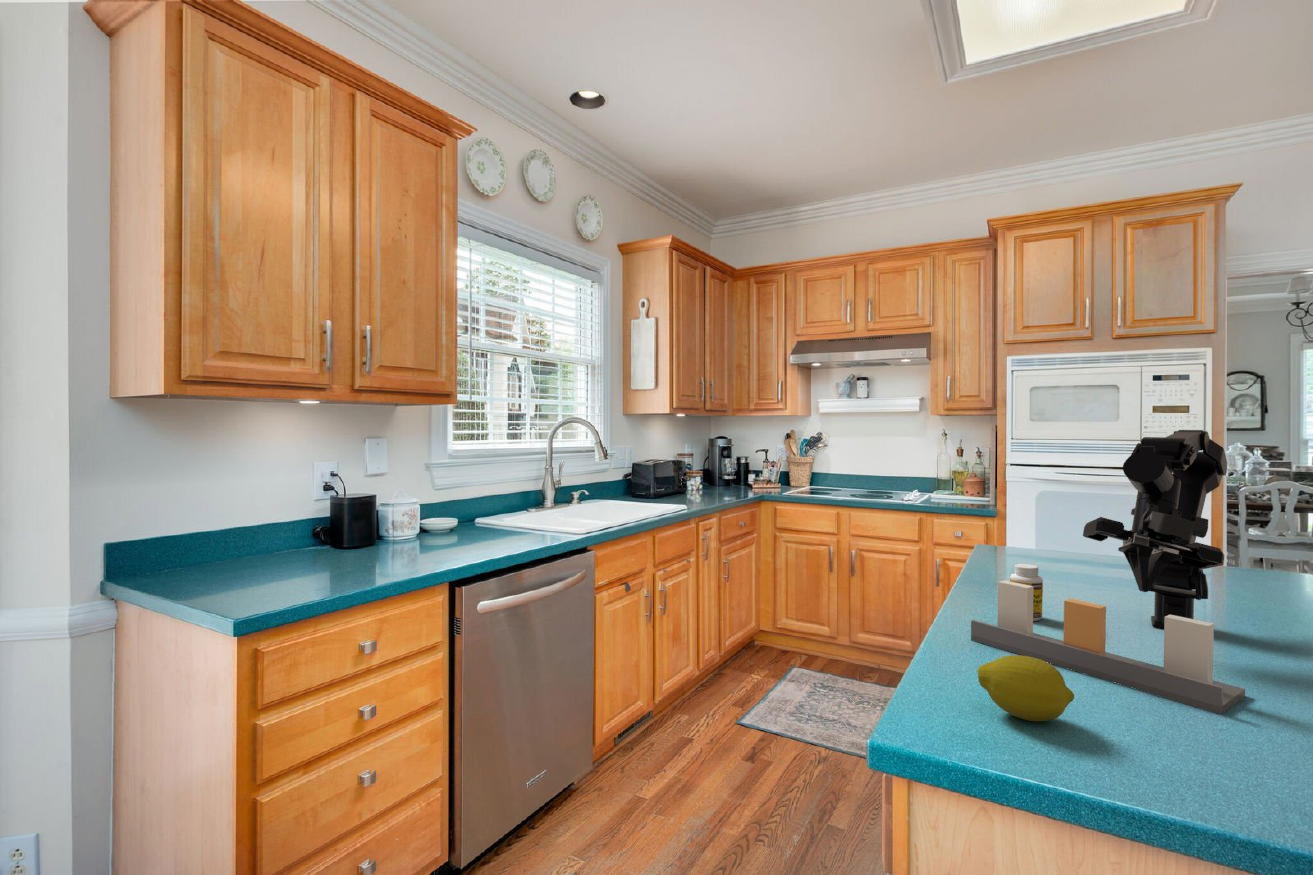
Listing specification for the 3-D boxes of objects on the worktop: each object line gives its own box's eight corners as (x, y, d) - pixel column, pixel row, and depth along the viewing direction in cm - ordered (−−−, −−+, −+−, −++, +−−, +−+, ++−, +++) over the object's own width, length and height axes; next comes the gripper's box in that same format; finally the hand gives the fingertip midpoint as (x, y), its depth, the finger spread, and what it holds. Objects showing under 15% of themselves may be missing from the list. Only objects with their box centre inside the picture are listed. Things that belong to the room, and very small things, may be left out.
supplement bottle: (1033, 623, 121) (1034, 570, 120) (1003, 616, 125) (1004, 564, 125) (1047, 618, 124) (1048, 566, 123) (1018, 611, 128) (1019, 561, 128)
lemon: (1077, 719, 82) (1078, 658, 82) (1068, 742, 76) (1069, 676, 76) (986, 695, 89) (986, 639, 89) (971, 715, 83) (971, 655, 83)
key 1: (1003, 630, 113) (1004, 580, 113) (1032, 638, 109) (1033, 586, 109) (997, 632, 112) (998, 581, 112) (1026, 640, 108) (1027, 588, 107)
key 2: (1168, 675, 93) (1169, 614, 93) (1212, 687, 89) (1213, 623, 89) (1163, 678, 92) (1164, 616, 92) (1207, 690, 88) (1208, 626, 87)
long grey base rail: (1001, 629, 117) (1001, 610, 117) (1245, 695, 89) (1245, 671, 89) (971, 640, 112) (971, 620, 112) (1220, 714, 83) (1221, 688, 83)
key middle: (1069, 654, 101) (1070, 598, 101) (1105, 664, 97) (1106, 606, 97) (1063, 657, 100) (1064, 600, 100) (1099, 667, 96) (1100, 608, 96)
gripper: (1118, 477, 105) (1103, 567, 102) (1251, 510, 100) (1241, 606, 96) (1088, 493, 116) (1074, 575, 112) (1208, 523, 111) (1197, 611, 107)
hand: (1143, 591), depth 107 cm, fingers closed
